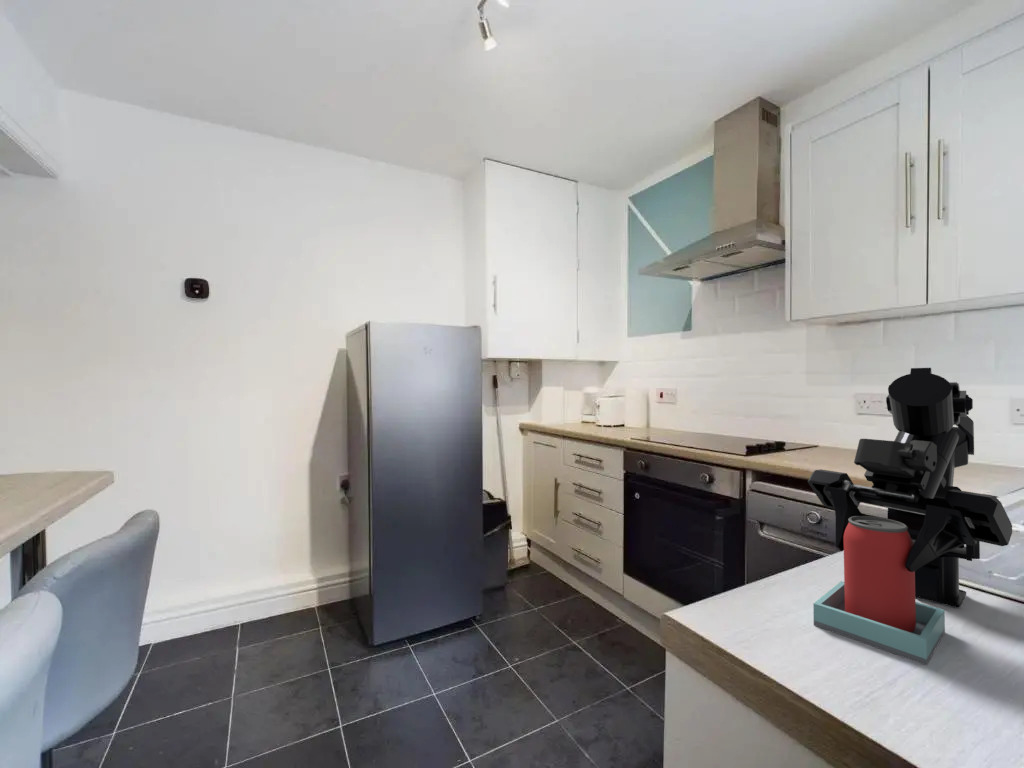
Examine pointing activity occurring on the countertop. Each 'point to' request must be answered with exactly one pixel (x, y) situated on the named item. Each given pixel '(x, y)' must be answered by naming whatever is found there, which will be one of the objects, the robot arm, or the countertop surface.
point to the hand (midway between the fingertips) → (871, 558)
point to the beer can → (879, 572)
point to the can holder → (882, 627)
